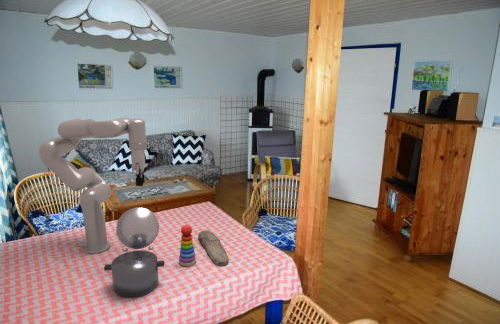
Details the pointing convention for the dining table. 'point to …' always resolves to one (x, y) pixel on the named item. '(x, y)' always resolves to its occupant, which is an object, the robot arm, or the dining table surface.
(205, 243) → the elongated rock
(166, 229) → the dining table surface
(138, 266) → the cooker pot
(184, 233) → the stacking toy
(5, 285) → the dining table surface
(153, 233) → the cooker lid
